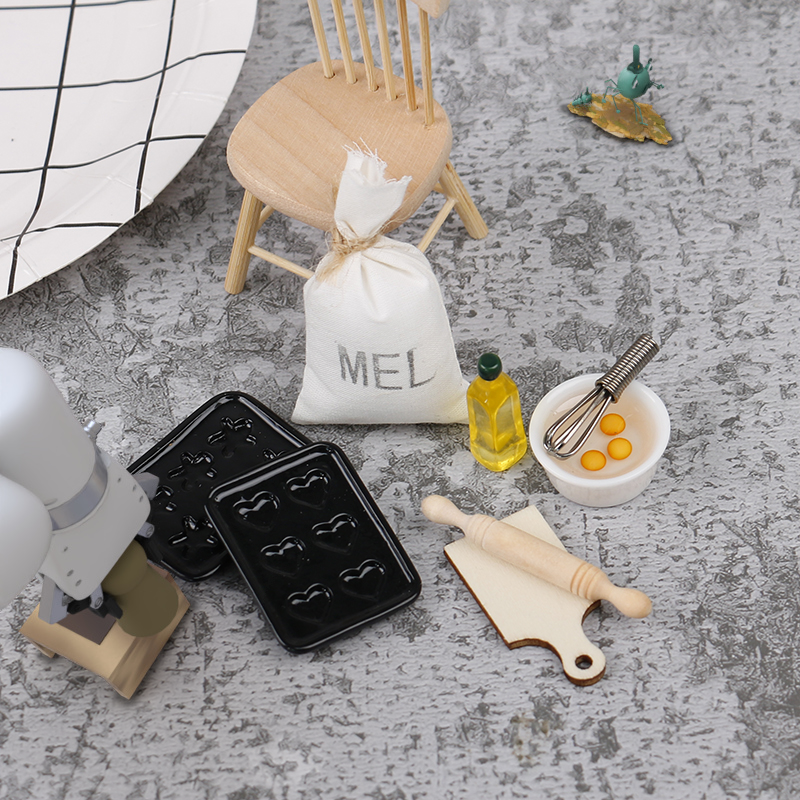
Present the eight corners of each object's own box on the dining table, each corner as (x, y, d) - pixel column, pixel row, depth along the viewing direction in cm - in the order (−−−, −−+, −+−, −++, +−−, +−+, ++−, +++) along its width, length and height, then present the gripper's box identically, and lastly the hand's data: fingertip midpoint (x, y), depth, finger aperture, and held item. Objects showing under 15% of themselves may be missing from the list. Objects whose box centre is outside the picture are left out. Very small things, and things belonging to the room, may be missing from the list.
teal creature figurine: (591, 83, 155) (610, 5, 142) (684, 136, 149) (712, 59, 136) (556, 113, 151) (572, 35, 138) (650, 169, 145) (676, 92, 133)
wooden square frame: (129, 699, 102) (101, 672, 95) (43, 654, 106) (10, 624, 98) (190, 604, 108) (169, 571, 100) (107, 564, 111) (80, 529, 104)
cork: (161, 565, 92) (126, 511, 83) (190, 612, 89) (157, 562, 80) (105, 600, 90) (63, 549, 81) (132, 650, 87) (92, 602, 78)
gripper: (86, 378, 75) (151, 491, 90) (-64, 555, 67) (35, 647, 82) (161, 411, 73) (215, 521, 88) (16, 598, 65) (103, 685, 79)
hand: (128, 581), depth 84 cm, fingers closed on cork, 5 cm apart
